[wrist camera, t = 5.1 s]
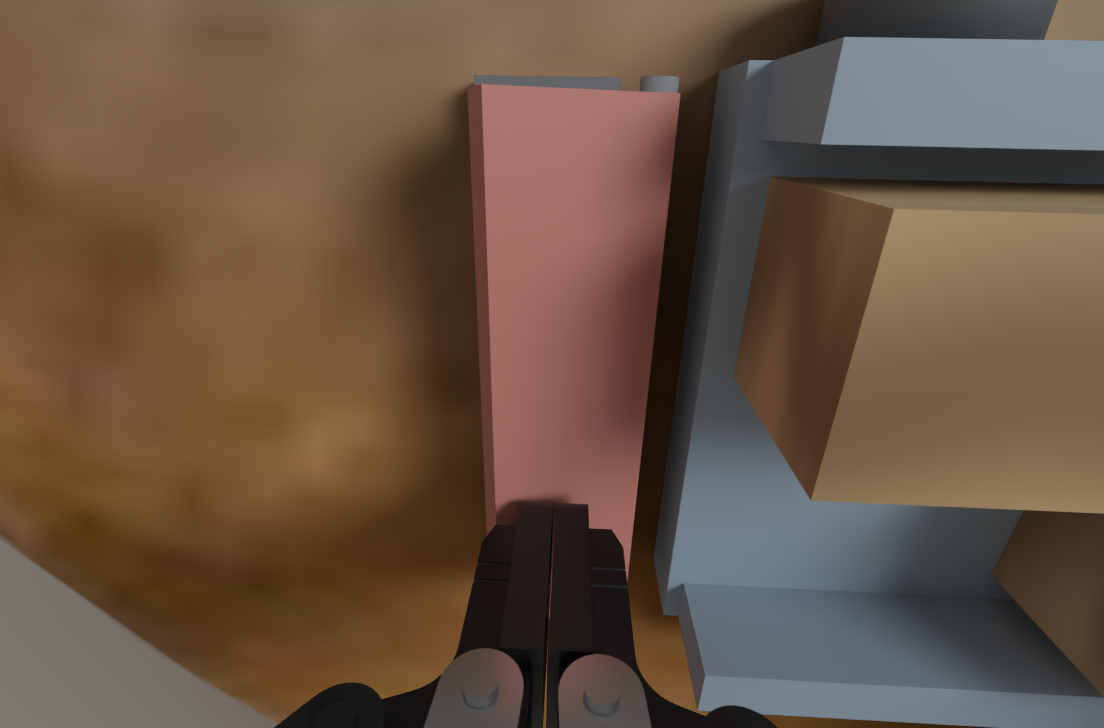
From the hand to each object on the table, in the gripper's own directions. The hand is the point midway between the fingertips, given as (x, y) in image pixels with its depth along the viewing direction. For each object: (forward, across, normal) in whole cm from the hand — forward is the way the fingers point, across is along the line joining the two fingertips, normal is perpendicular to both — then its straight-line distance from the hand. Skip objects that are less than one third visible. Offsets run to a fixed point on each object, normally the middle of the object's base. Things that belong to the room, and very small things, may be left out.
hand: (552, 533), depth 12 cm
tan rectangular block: (+1, -7, -6) cm, 9 cm away
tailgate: (+2, -2, -3) cm, 4 cm away
